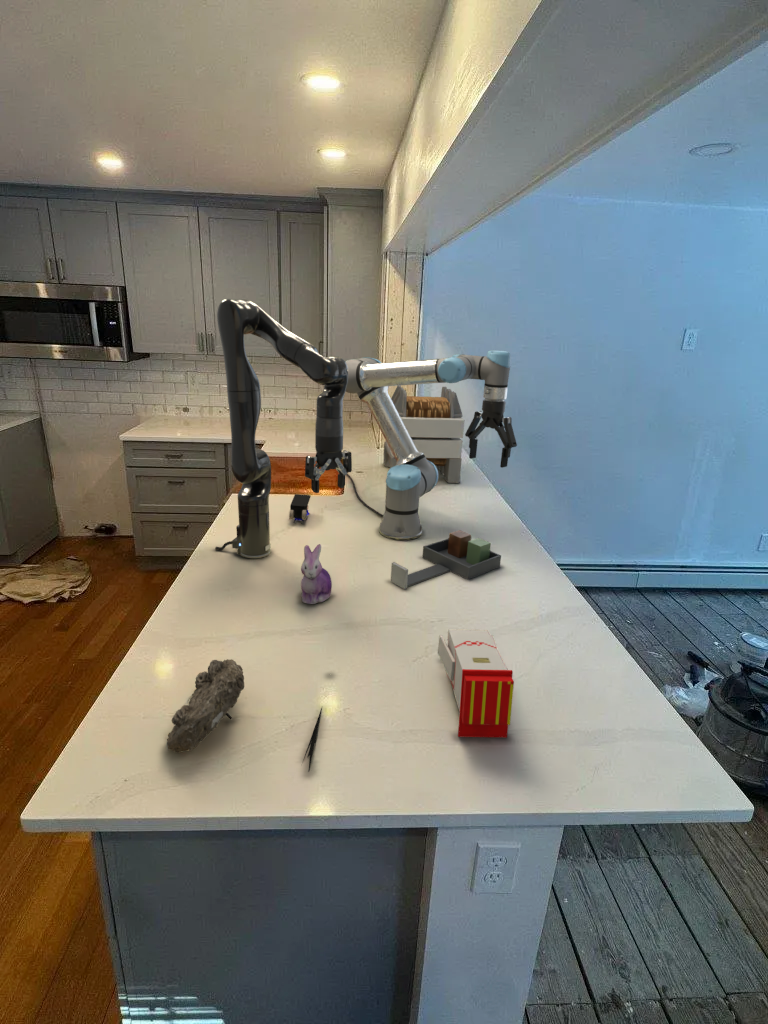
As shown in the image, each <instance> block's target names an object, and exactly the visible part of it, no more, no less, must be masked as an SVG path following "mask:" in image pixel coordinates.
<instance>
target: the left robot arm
mask: <svg viewBox="0 0 768 1024" xmlns="http://www.w3.org/2000/svg"><path fill="white" fill-rule="evenodd" d="M216 311H217V313H216V321H217V327H218V332H219V337H220V343H221V348H222V354H223V362H224V369H225V378H226V393H227V404H228V410H229V411H228V413H229V424H230V436H231V446H230V447H231V450H230V451H231V452H230V453H231V456H230V465H231V467H230V468H231V471H232V475H233V476H234V478H235V479H236V480H237V482H239V483H240V484H242V485H241V487H240V490H239V491H238V492H237V511H238V513H237V514H238V524H237V525H236V526H235V527H236V529H235V530H236V537H235V538H233V539H232V540H230V541H227V542H224V543H223V545H222V546H221V547H220V546H215V550H216V551H223V550H225V548H226V547H227V546H229V545H231V547H232V549H236V550H237V555H239V556H241V557H243V558H246V559H251V560H253V559H255V560H256V559H262V558H265V557H268V556H269V555H270V554H271V547H272V546H271V545H272V544H271V534H270V533H271V532H270V531H271V529H270V498H269V497H270V494H271V490H272V463H271V460H270V459H271V458H270V456H269V455H268V453H267V452H266V451H265V450H263V449H261V448H258V447H256V433H257V428H258V423H259V420H260V416H261V410H262V394H261V393H262V392H261V385H260V380H259V378H258V376H257V374H256V371H255V370H254V368H253V366H252V364H251V363H250V361H249V358H248V356H247V352H246V347H245V346H246V345H245V335H250V334H251V335H253V336H255V337H258V338H260V339H262V340H265V341H266V342H267V343H269V344H270V345H271V346H272V348H273V349H274V350H275V352H276V354H278V355H279V356H280V357H281V358H282V359H284V360H285V361H287V362H289V363H291V364H292V365H294V366H295V367H296V368H299V369H300V370H301V371H302V372H303V373H304V374H305V375H306V377H308V378H309V379H310V380H311V381H313V382H314V383H316V384H318V385H320V386H323V390H322V392H321V393H319V394H318V395H317V397H316V409H315V410H316V414H315V415H316V417H315V428H314V429H315V435H314V437H315V440H314V443H315V445H314V448H315V455H314V456H309V455H306V456H305V461H304V463H305V465H304V477H305V478H307V479H310V480H311V481H310V483H311V484H310V489H311V491H312V492H313V493H315V494H319V493H320V478H321V477H322V475H323V474H324V473H325V471H331V470H336V471H337V473H338V474H337V487H338V488H339V489H344V488H345V485H346V476H347V475H346V474H348V473H351V472H352V471H353V462H352V461H353V460H352V458H353V457H352V452H351V451H349V450H347V449H345V450H343V449H344V419H343V417H344V415H343V414H344V413H343V412H344V397H345V394H346V386H347V382H348V367H347V364H346V362H345V361H346V360H344V359H343V357H341V356H335V355H334V356H327V357H326V356H323V355H322V354H320V353H319V351H318V349H317V348H316V346H315V345H313V344H312V343H311V342H309V341H307V339H304V338H302V337H300V336H299V335H297V334H295V333H294V332H292V331H290V330H289V329H287V328H286V327H284V326H283V325H282V324H281V323H279V322H277V320H275V318H273V317H271V316H270V315H269V314H268V313H267V312H266V311H265V310H263V308H261V307H260V306H259V305H257V304H256V302H253V301H251V300H249V299H244V298H225V299H223V300H222V301H221V302H220V303H219V305H218V307H217V310H216Z"/></svg>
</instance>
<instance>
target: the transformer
mask: <svg viewBox="0 0 768 1024" xmlns="http://www.w3.org/2000/svg"><path fill="white" fill-rule="evenodd" d="M440 393H441V394H440V396H415V395H414V396H413V395H412V396H411V395H407V394H408V393H407V390H406V389H404V388H403V387H402V385H399V386H396V388H395V390H394V392H393V394H392V395H391V397H390V398H391V400H392V402H393V404H394V406H395V408H396V410H397V412H398V414H399V416H400V418H401V420H402V421H403V423H404V425H405V427H406V429H407V431H408V433H409V435H410V437H411V439H412V441H413V443H414V445H415V447H416V449H417V451H419V452H422V453H424V455H425V457H426V459H427V460H428V461H430V462H432V463H433V464H434V465H435V466H436V468H437V470H438V469H439V471H438V472H439V473H440V474H441V475H443V478H444V479H445V481H446V482H447V483H449V484H455V483H456V484H459V483H461V472H462V461H463V460H462V453H463V442H464V441H463V440H462V439H463V438H464V431H465V430H464V429H465V419H464V418H463V411H462V408H461V405H460V402H459V398H458V395H457V392H455V391H453V390H452V389H451V388H447V386H442V387H441V392H440ZM396 463H397V461H396V459H395V457H394V455H393V453H392V451H391V449H390V448H389V446H388V444H387V442H386V440H385V439H384V442H383V466H384V467H388V468H389V469H390V468H392V467H394V466H396Z"/></svg>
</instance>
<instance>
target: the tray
mask: <svg viewBox="0 0 768 1024" xmlns="http://www.w3.org/2000/svg"><path fill="white" fill-rule="evenodd" d="M448 543H449V537H447V538H445V539H442V540H439V541H436V542H432V543H429V544H426V545H423V547H422V556H421V557H422V559H424V560H426V561H428V562H430V563H432V564H434V565H431V566H429V567H426V568H423V569H420V570H417V571H414V572H411V573H409V569H408V568H406V567H404V566H403V565H400V564H399V563H397V562H395V561H393V562H391V566H390V567H391V569H390V582H391V583H392V584H394V585H396V586H398V587H399V588H401V589H403V590H406V589H408V588H409V587H411V586H414V585H418V584H420V583H422V582H425V581H427V580H431V579H433V578H436V577H439V576H440V575H443V574H446V573H449V572H451V573H453V574H455V575H457V576H458V577H461V578H463V579H465V580H471V579H473V578H475V577H478V576H481V575H483V574H485V573H488V572H490V571H493V570H495V569H499V568H501V562H502V561H501V560H502V555H501V554H499V553H497V552H494V551H491V550H490V555H489V559H487V560H485V561H482V562H479V563H477V564H474V565H472V564H470V563H468V562H466V559H467V556H464V557H461V558H457V557H455V556H453V555H451V554H449V553H448Z"/></svg>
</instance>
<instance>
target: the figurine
mask: <svg viewBox="0 0 768 1024" xmlns="http://www.w3.org/2000/svg"><path fill="white" fill-rule="evenodd" d="M321 551H322V544H320V543H319V544H317V545H316V546H315V548H314V549H313V551H312V550H311V547H310V546H309V545H308V544H306V545H305V546H304V547H303V555H304V560H303V561H302V564H301V567H300V572H301V574H302V575H303V576H302V578H301V580H300V589H301V602H302V603H304V604H308V605H315V604H317V603H323V602H325V601H327V600H328V599H330V597H331V595H332V588H333V584H332V582H333V581H332V577H331V575H330V573H329V572H328V570H327V569H325V568H324V567H323V565H322V563H321V561H320V555H321Z"/></svg>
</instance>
